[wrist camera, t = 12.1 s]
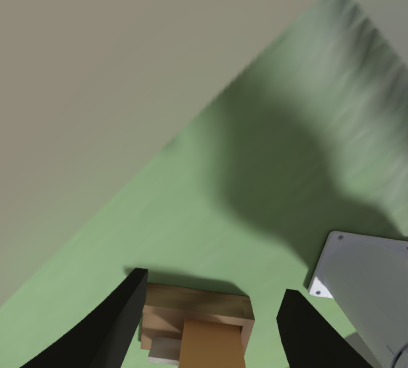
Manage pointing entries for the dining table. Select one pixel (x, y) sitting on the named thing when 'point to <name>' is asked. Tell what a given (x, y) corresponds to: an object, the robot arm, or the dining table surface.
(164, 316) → the shelf
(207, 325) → the tan block
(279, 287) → the dining table surface
